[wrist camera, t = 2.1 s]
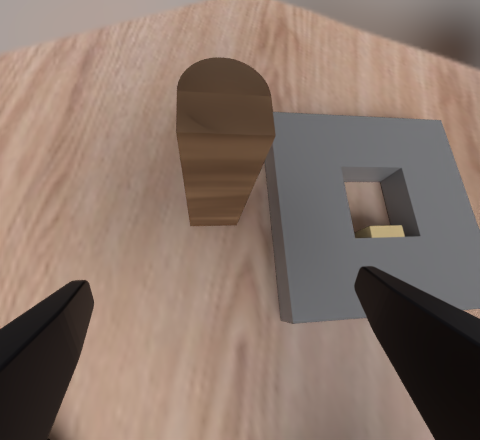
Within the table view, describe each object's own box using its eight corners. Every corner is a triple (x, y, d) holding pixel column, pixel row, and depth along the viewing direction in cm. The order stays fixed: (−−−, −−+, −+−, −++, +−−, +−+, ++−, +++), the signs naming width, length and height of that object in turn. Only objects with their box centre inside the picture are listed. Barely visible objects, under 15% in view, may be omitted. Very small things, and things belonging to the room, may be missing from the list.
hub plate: (469, 306, 24) (506, 306, 21) (280, 320, 21) (293, 323, 18) (417, 138, 29) (440, 120, 26) (261, 132, 26) (269, 111, 23)
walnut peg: (236, 225, 23) (275, 135, 11) (190, 226, 22) (176, 132, 10) (233, 184, 24) (266, 61, 12) (190, 183, 23) (177, 54, 11)
